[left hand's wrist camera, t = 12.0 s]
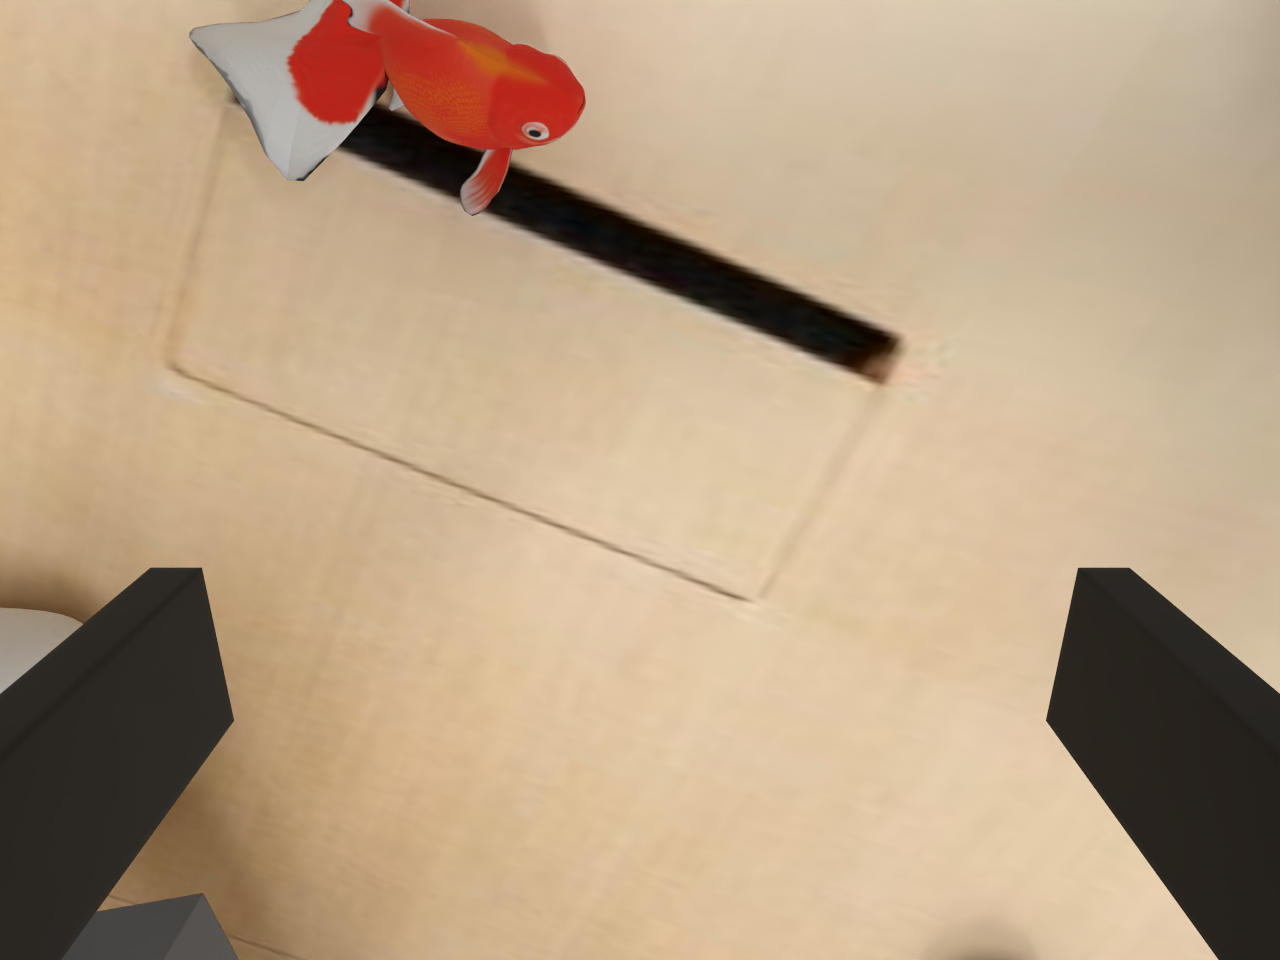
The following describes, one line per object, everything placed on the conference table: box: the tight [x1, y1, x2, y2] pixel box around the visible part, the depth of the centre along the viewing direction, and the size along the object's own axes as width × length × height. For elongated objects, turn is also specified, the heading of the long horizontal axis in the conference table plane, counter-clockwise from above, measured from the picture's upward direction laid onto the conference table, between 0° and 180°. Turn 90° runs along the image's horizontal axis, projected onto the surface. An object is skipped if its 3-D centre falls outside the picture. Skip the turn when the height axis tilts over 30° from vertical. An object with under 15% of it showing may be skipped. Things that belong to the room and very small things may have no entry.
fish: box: [189, 0, 585, 216], centre depth 32 cm, size 11×16×10 cm
